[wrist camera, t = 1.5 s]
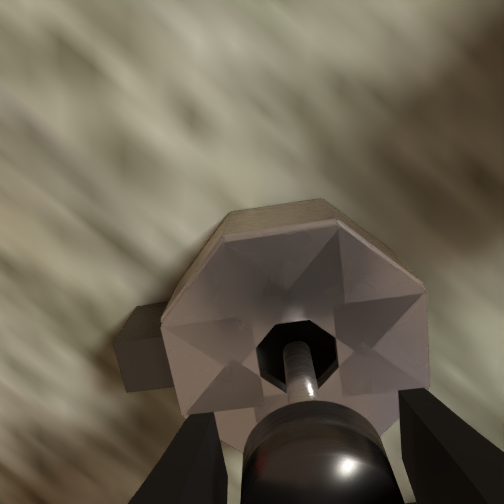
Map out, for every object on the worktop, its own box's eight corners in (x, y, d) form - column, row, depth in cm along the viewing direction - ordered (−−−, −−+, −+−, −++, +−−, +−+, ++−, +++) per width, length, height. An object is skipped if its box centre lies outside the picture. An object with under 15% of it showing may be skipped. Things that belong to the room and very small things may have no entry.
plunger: (349, 388, 14) (410, 576, 8) (256, 398, 15) (252, 590, 9) (340, 302, 13) (403, 448, 7) (241, 315, 14) (226, 467, 8)
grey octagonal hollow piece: (399, 382, 18) (434, 449, 15) (165, 410, 19) (142, 480, 15) (388, 188, 16) (428, 210, 12) (119, 228, 17) (78, 259, 13)
